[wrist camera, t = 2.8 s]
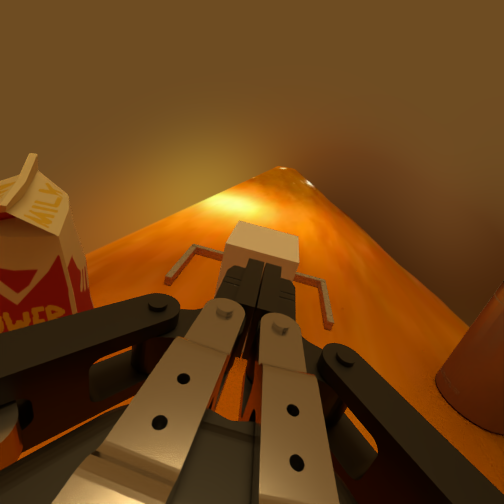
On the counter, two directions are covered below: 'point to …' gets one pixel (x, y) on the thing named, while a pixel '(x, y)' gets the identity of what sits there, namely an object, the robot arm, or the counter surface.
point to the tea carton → (260, 250)
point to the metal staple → (298, 277)
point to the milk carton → (38, 252)
